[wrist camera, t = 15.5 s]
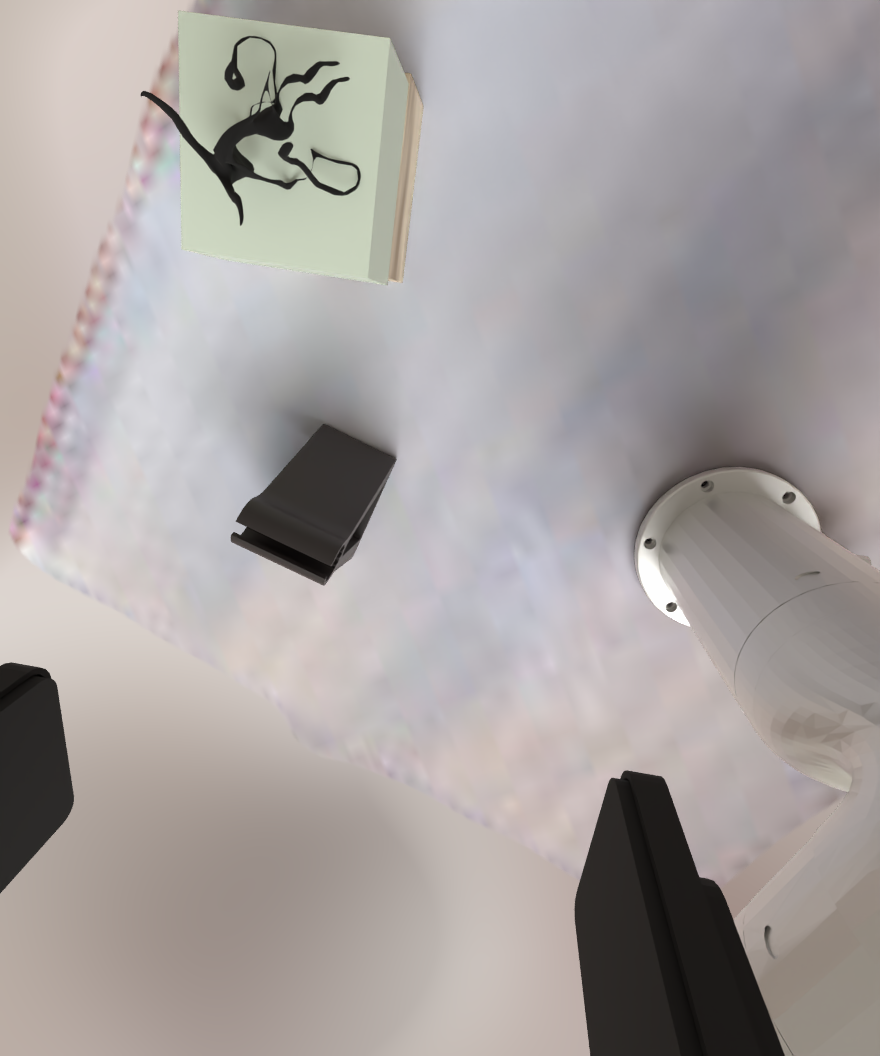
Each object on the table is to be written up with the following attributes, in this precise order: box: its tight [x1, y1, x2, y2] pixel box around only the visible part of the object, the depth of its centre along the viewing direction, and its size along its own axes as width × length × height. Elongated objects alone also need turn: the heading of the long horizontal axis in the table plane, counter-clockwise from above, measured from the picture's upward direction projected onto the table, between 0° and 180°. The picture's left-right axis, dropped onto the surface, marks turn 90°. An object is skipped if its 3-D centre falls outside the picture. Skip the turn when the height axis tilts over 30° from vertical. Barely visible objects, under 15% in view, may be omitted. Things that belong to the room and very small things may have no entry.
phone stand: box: [231, 424, 396, 585], centre depth 38 cm, size 9×6×12 cm, turn 155°
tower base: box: [388, 73, 423, 283], centre depth 34 cm, size 10×10×5 cm
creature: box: [141, 36, 361, 226], centre depth 25 cm, size 8×5×8 cm
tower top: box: [178, 11, 409, 285], centre depth 29 cm, size 10×10×5 cm
